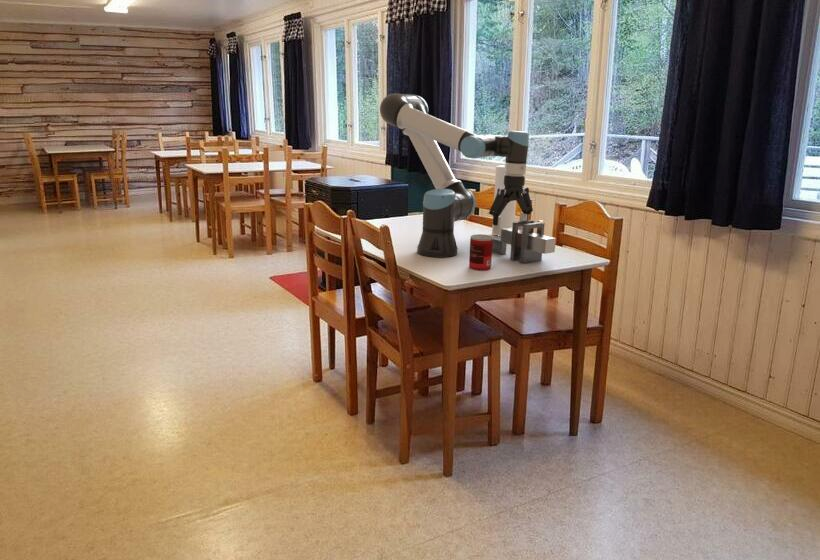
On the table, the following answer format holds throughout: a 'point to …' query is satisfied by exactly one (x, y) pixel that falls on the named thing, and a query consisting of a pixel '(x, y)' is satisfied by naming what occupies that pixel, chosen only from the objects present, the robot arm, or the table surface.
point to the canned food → (480, 252)
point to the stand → (498, 246)
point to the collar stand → (525, 241)
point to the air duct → (530, 241)
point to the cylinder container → (509, 210)
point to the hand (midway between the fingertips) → (509, 232)
